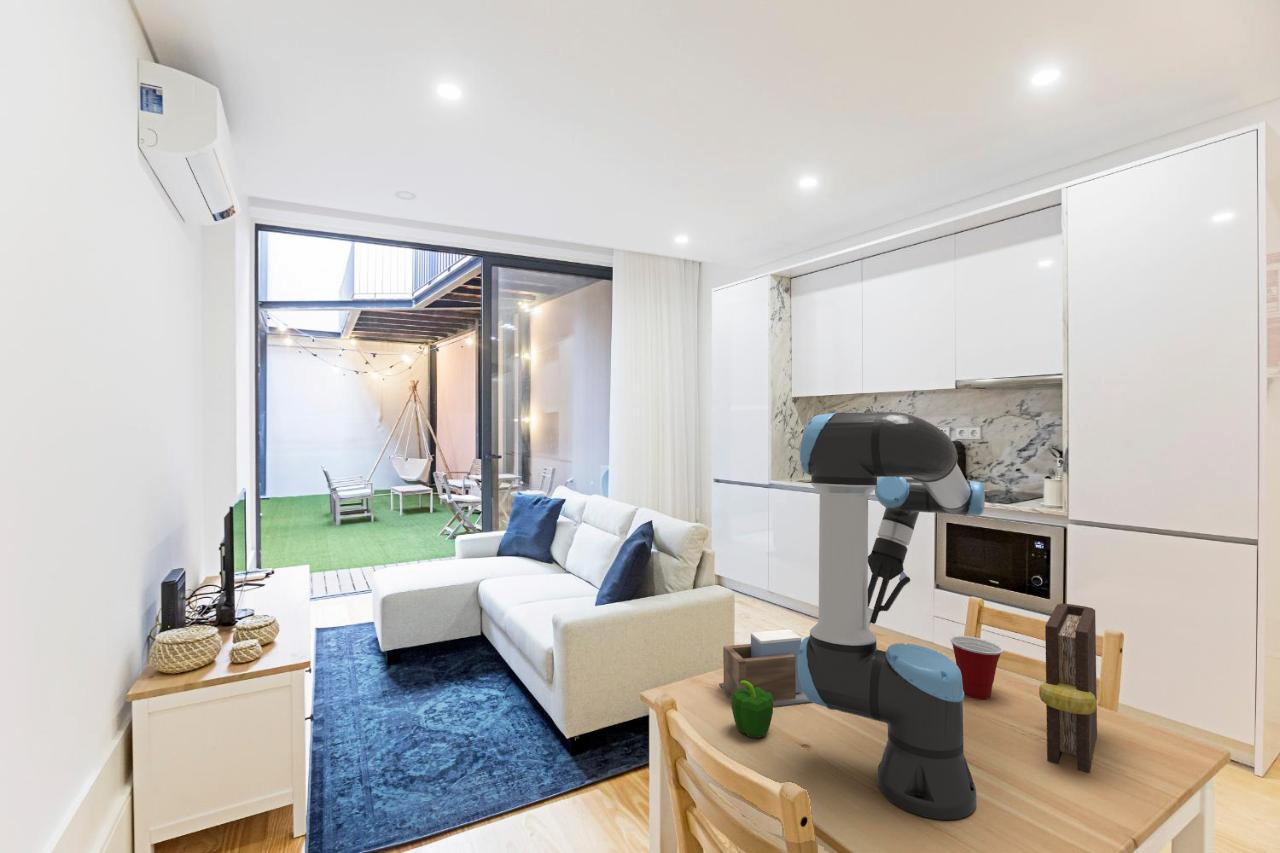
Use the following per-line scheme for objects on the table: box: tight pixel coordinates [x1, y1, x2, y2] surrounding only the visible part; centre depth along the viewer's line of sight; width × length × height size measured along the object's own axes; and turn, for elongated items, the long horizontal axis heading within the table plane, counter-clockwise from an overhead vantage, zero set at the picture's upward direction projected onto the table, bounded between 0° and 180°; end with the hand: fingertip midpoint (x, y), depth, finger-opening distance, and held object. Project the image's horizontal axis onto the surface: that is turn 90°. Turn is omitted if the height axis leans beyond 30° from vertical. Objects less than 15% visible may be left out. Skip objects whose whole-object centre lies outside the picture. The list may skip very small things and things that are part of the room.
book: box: [1038, 603, 1098, 774], centre depth 116 cm, size 22×8×25 cm, turn 139°
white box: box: [750, 628, 802, 693], centre depth 142 cm, size 6×10×13 cm, turn 103°
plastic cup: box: [949, 635, 1004, 700], centre depth 140 cm, size 11×11×12 cm
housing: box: [718, 643, 814, 708], centre depth 141 cm, size 14×18×10 cm
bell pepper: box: [731, 680, 774, 739], centre depth 123 cm, size 8×8×10 cm
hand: (862, 634), depth 145 cm, fingers closed
